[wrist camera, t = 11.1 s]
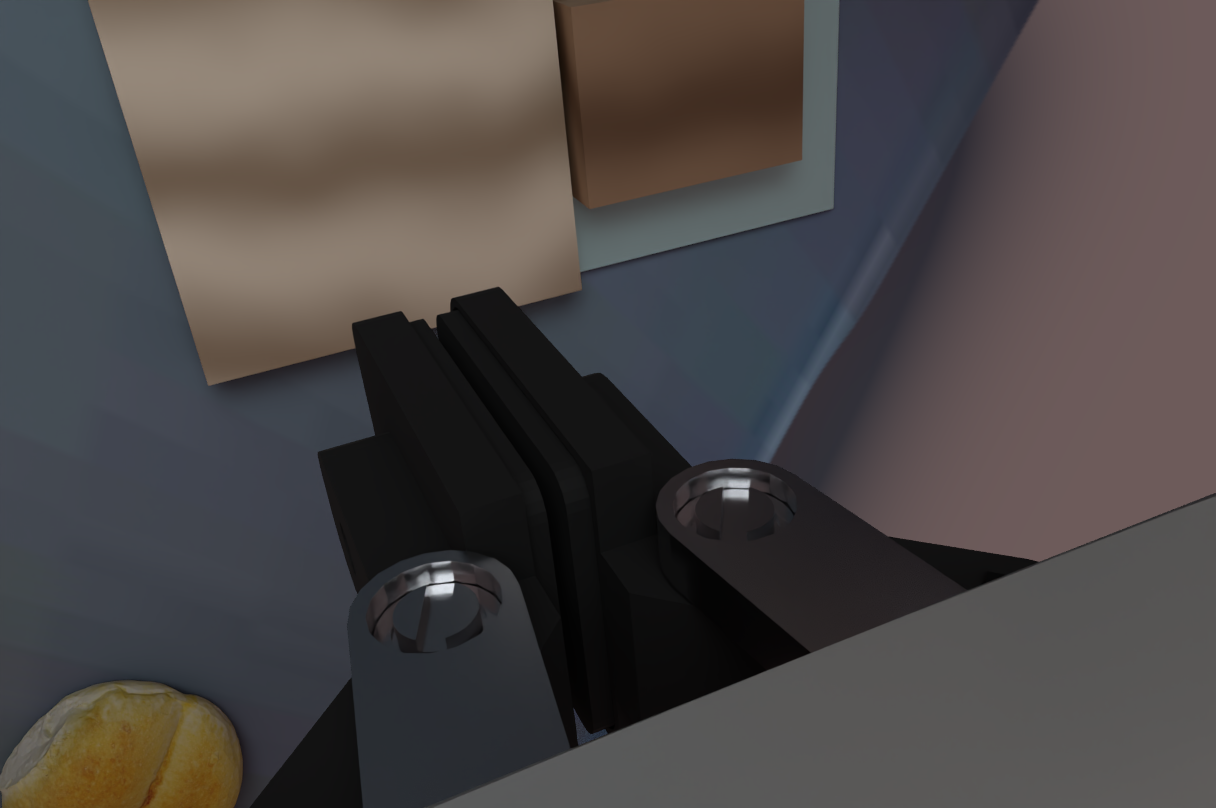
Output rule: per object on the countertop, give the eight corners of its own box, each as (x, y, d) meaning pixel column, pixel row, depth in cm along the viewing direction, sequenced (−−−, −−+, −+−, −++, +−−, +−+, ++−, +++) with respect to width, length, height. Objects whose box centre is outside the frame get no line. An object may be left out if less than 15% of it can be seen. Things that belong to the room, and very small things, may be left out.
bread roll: (160, 851, 48) (166, 925, 45) (-33, 788, 43) (-42, 868, 39) (283, 720, 47) (298, 786, 44) (103, 641, 42) (105, 709, 39)
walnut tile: (543, -4, 37) (570, 7, 35) (767, -40, 40) (804, -32, 38) (563, 189, 41) (589, 209, 39) (768, 144, 44) (802, 159, 42)
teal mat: (534, -116, 36) (538, -115, 36) (837, -155, 40) (843, -155, 39) (574, 269, 43) (578, 272, 43) (827, 205, 47) (833, 208, 46)
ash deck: (72, -57, 31) (72, -50, 30) (520, -115, 36) (541, -111, 34) (202, 362, 39) (208, 386, 37) (562, 272, 43) (582, 289, 41)
